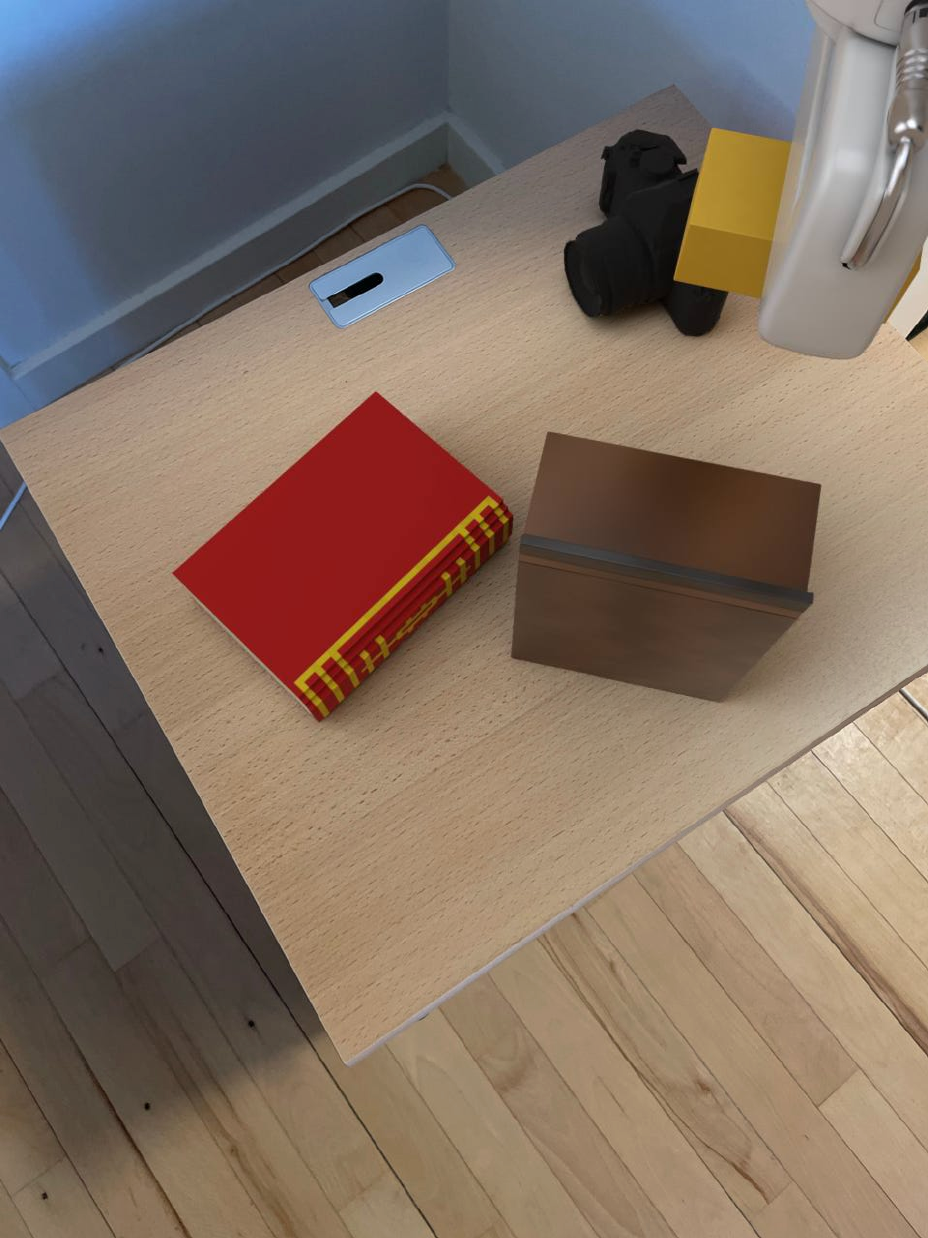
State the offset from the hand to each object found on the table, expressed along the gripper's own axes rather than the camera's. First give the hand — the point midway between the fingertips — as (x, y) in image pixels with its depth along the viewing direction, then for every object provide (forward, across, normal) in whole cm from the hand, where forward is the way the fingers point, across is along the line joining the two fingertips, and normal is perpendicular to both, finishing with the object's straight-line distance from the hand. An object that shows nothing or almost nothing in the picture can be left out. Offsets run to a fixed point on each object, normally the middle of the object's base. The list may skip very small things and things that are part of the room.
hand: (802, 227), depth 41 cm
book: (+29, -9, +21) cm, 37 cm away
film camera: (+29, +19, +7) cm, 36 cm away
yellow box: (+2, 0, 0) cm, 2 cm away
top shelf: (+12, -9, +2) cm, 15 cm away
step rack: (+29, -6, +2) cm, 30 cm away
